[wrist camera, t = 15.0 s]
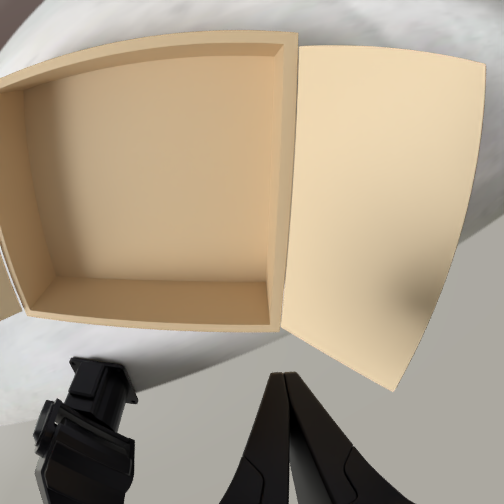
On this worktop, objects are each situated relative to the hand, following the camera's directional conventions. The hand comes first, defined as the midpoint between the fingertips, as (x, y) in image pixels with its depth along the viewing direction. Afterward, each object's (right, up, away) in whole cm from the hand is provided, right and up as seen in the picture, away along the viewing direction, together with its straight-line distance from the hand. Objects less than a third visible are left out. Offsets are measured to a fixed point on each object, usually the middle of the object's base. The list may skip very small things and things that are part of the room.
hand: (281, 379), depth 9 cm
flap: (+4, +5, +2) cm, 6 cm away
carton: (-8, +9, +9) cm, 15 cm away
